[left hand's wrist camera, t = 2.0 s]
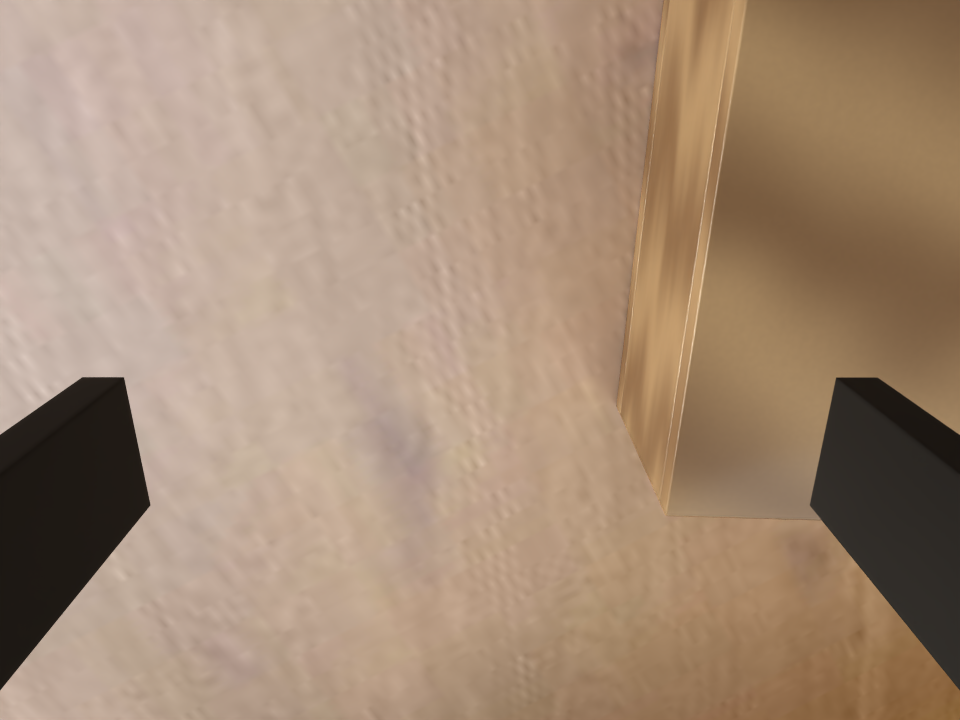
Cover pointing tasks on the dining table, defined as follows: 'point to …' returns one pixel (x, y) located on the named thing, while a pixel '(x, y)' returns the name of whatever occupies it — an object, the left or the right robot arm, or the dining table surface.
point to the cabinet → (790, 240)
